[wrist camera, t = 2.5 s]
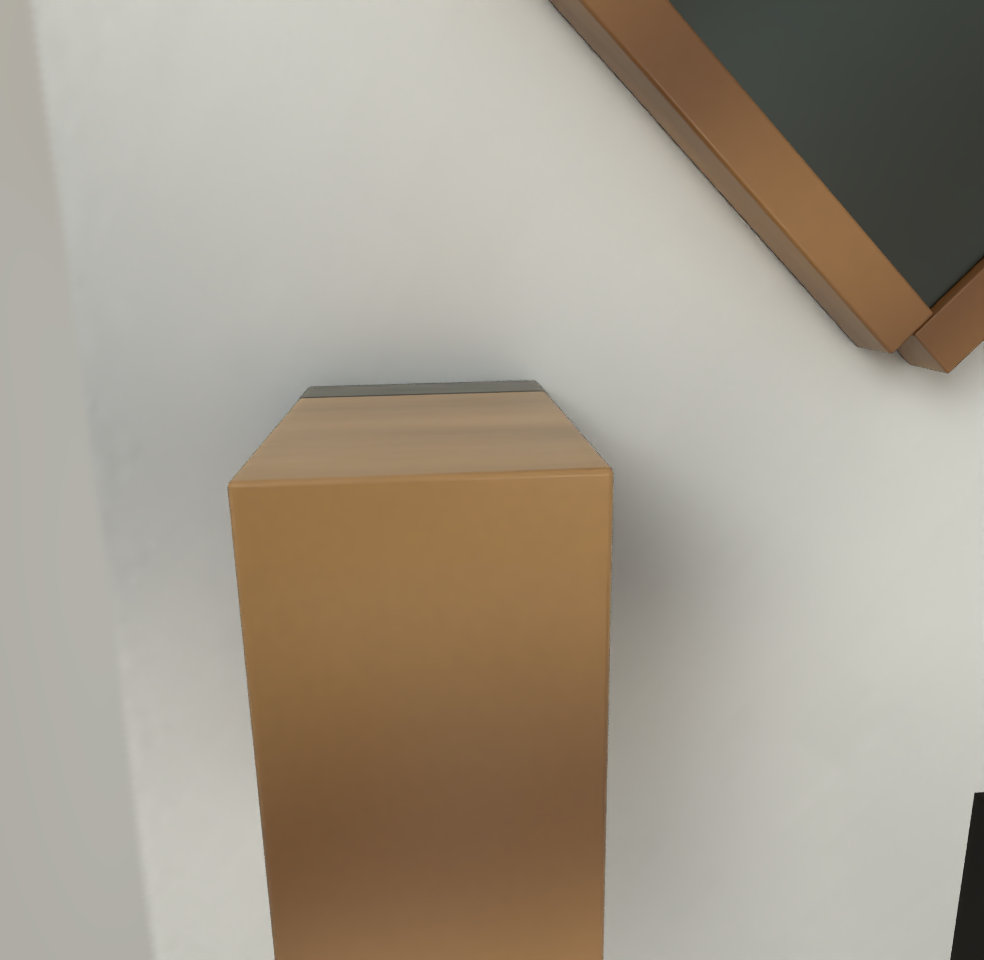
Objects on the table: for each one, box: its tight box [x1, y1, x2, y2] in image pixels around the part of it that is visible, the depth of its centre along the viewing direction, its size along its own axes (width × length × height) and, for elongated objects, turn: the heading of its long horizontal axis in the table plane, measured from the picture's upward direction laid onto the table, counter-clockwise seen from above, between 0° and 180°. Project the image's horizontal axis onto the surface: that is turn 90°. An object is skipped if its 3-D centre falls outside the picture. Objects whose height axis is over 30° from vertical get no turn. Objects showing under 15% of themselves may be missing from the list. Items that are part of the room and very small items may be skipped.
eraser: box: [228, 380, 614, 960], centre depth 16 cm, size 10×5×8 cm, turn 0°
